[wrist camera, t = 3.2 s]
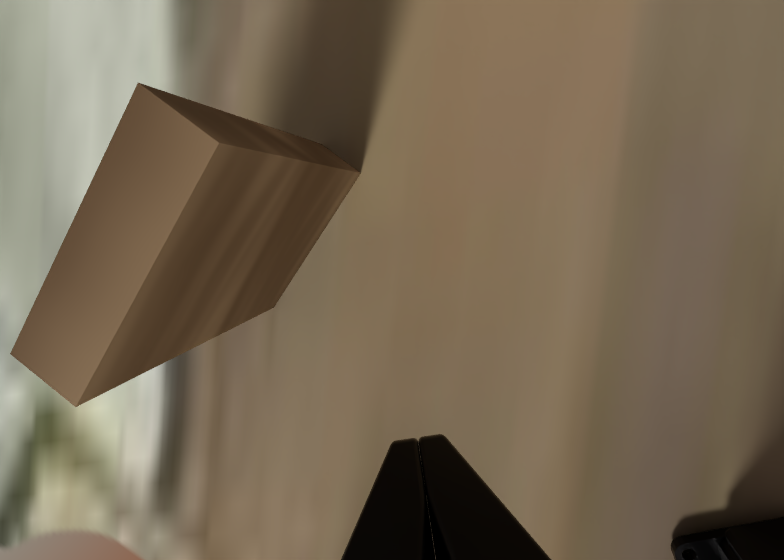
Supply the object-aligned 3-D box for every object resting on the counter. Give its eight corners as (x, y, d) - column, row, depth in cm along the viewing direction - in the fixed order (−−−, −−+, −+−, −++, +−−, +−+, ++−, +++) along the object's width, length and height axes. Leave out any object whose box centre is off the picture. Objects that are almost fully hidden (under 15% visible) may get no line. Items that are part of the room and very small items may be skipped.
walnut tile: (360, 173, 18) (219, 143, 9) (273, 307, 20) (75, 406, 10) (320, 143, 18) (136, 80, 9) (237, 279, 20) (8, 352, 11)
